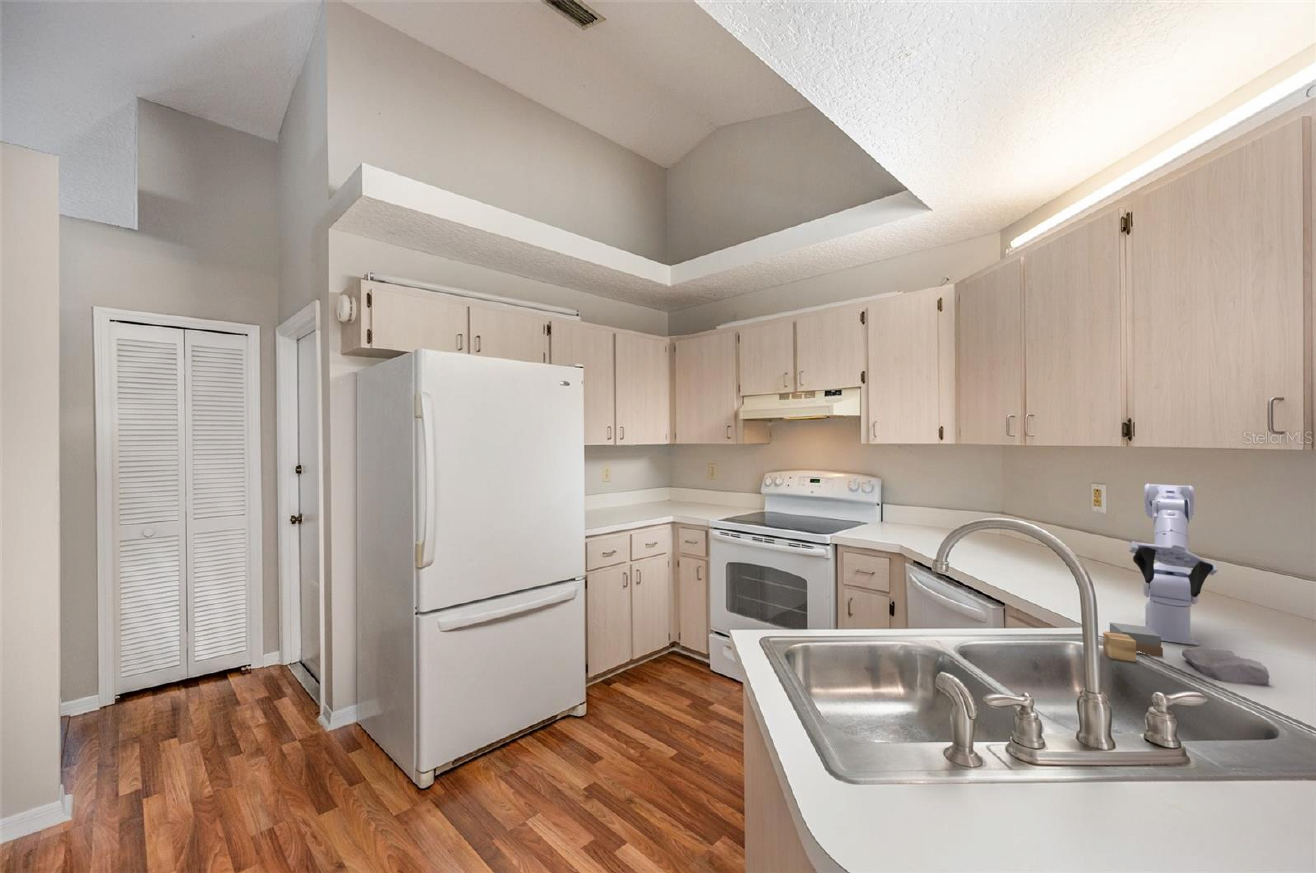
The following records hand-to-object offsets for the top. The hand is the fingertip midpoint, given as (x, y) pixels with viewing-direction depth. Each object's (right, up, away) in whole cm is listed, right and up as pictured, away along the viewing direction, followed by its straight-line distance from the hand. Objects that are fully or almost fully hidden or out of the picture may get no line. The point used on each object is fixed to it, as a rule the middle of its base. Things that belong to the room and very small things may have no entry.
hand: (1172, 587), depth 115 cm
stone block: (+8, -18, -3) cm, 19 cm away
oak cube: (-7, -17, +5) cm, 19 cm away
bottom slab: (+1, -18, +10) cm, 21 cm away
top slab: (+1, -15, +10) cm, 18 cm away
